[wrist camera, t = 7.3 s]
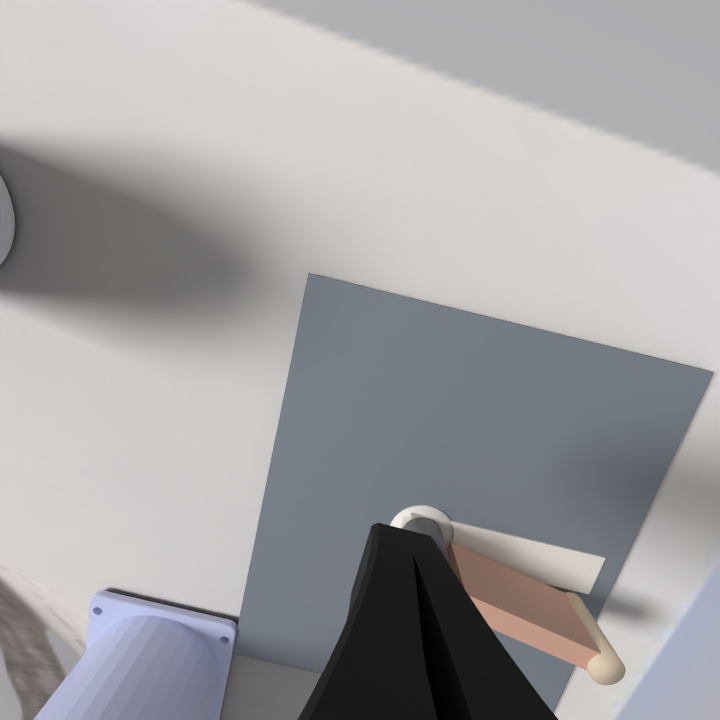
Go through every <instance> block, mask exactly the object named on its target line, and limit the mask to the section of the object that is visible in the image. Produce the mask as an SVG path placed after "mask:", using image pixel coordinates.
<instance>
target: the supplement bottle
mask: <svg viewBox="0 0 720 720" xmlns="http://www.w3.org/2000/svg"><path fill="white" fill-rule="evenodd" d="M14 232H15V216H14V211H13V207H12V202H11V198H10V195H9V192H8V190H7V187H6V185H5V183H4V181H3V179H2V177H1V175H0V265H1V264H2V262H3V261H4V260H5V258H6V257H7V255H8V253H9V251H10V248H11V245H12V242H13V238H14Z"/></svg>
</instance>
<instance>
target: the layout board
mask: <svg viewBox="0 0 720 720" xmlns="http://www.w3.org/2000/svg"><path fill="white" fill-rule="evenodd" d="M712 373H713V372H710V371H707V370H703V369H699V368H695V367H691V366H686V365H682V364H678V363H674V362H670V361H666V360H662V359H658V358H654V357H650V356H646V355H641V354H637V353H633V352H629V351H625V350H621V349H617V348H613V347H609V346H605V345H601V344H596V343H592V342H588V341H584V340H580V339H576V338H572V337H568V336H564V335H560V334H556V333H551V332H547V331H543V330H539V329H535V328H531V327H527V326H523V325H519V324H515V323H511V322H506V321H502V320H498V319H494V318H490V317H486V316H482V315H478V314H474V313H470V312H465V311H461V310H457V309H453V308H449V307H445V306H441V305H437V304H433V303H429V302H425V301H420V300H416V299H412V298H408V297H404V296H400V295H396V294H392V293H388V292H384V291H380V290H375V289H371V288H367V287H363V286H359V285H355V284H351V283H347V282H343V281H339V280H335V279H330V278H326V277H322V276H318V275H314V274H310V273H309V274H308V279H307V284H306V289H305V294H304V299H303V304H302V309H301V314H300V319H299V324H298V329H297V334H296V339H295V344H294V349H293V354H292V359H291V364H290V369H289V374H288V379H287V383H286V388H285V393H284V398H283V403H282V408H281V413H280V418H279V423H278V428H277V433H276V438H275V443H274V448H273V453H272V458H271V463H270V468H269V473H268V478H267V483H266V488H265V493H264V498H263V503H262V508H261V513H260V518H259V523H258V528H257V533H256V538H255V543H254V547H253V552H252V557H251V562H250V567H249V572H248V577H247V582H246V587H245V592H244V597H243V602H242V607H241V612H240V617H239V622H238V627H237V632H236V637H235V642H234V647H233V652H232V653H234V654H238V655H243V656H247V657H251V658H256V659H260V660H264V661H269V662H273V663H277V664H282V665H286V666H290V667H295V668H299V669H303V670H308V671H312V672H316V673H321V674H322V673H323V671H324V669H325V667H326V665H327V663H328V661H329V659H330V657H331V654H332V652H333V650H334V648H335V646H336V644H337V642H338V639H339V637H340V635H341V633H342V630H343V628H344V626H345V623H346V621H347V616H348V611H349V605H350V598H351V592H352V588H353V585H354V582H355V578H356V575H357V572H358V568H359V565H360V562H361V558H362V555H363V552H364V548H365V545H366V542H367V539H368V535H369V532H370V529H371V526H372V525H374V524H376V523H382V524H386V525H390V526H394V527H398V528H403V526H404V525H405V524H406V523H407V522H408V521H409V520H411V519H414V518H417V517H426V518H430V519H432V520H433V521H435V522H436V523H437V524H438V525H439V527H440V528H441V532H442V535H443V539H444V543H445V547H446V549H447V547H448V546H449V544H450V543H451V542H452V543H454V544H457V545H459V546H461V547H463V548H466V549H468V550H470V551H472V552H474V553H477V554H479V555H481V556H483V557H486V558H488V559H490V560H492V561H495V562H497V563H499V564H501V565H503V566H506V567H508V568H510V569H512V570H515V571H517V572H519V573H521V574H524V575H526V576H528V577H530V578H533V579H535V580H537V581H539V582H541V583H544V584H546V585H548V586H550V587H553V588H555V589H557V590H559V591H562V592H564V593H566V592H571V593H575V594H577V595H578V596H579V597H580V598H581V600H582V601H583V603H584V604H585V606H586V607H587V609H588V610H589V612H590V614H591V615H592V617H593V618H594V620H595V621H596V619H597V617H598V615H599V613H600V611H601V609H602V607H603V605H604V603H605V600H606V598H607V596H608V594H609V592H610V590H611V588H612V586H613V583H614V581H615V579H616V577H617V575H618V573H619V571H620V569H621V566H622V564H623V562H624V560H625V558H626V556H627V554H628V552H629V549H630V547H631V545H632V543H633V541H634V539H635V537H636V535H637V533H638V530H639V528H640V526H641V524H642V522H643V520H644V518H645V516H646V513H647V511H648V509H649V507H650V505H651V503H652V501H653V499H654V496H655V494H656V492H657V490H658V488H659V486H660V484H661V482H662V479H663V477H664V475H665V473H666V471H667V469H668V467H669V465H670V463H671V460H672V458H673V456H674V454H675V452H676V450H677V448H678V446H679V443H680V441H681V439H682V437H683V435H684V433H685V431H686V429H687V426H688V424H689V422H690V420H691V418H692V416H693V414H694V412H695V410H696V407H697V405H698V403H699V401H700V399H701V397H702V395H703V393H704V390H705V388H706V386H707V384H708V382H709V380H710V378H711V376H712ZM492 631H493V632H494V634H495V635H496V636H497V638H498V639H499V641H500V642H501V644H502V645H503V646H504V648H505V649H506V651H507V652H508V653H509V655H510V656H511V658H512V659H513V660H514V662H515V663H516V664H517V666H518V667H519V668H520V670H521V671H522V673H523V674H524V675H525V677H526V678H527V679H528V681H529V682H530V683H531V685H532V686H533V687H534V689H535V690H536V692H537V693H538V694H539V695H540V697H541V698H542V699H543V701H544V702H545V703H546V704H547V706H548V707H549V708H550V710H551V711H552V712H553V711H554V709H555V706H556V704H557V702H558V700H559V698H560V696H561V694H562V692H563V689H564V687H565V685H566V683H567V681H568V679H569V677H570V675H571V673H572V670H573V668H574V666H575V665H574V664H571V663H569V662H567V661H565V660H562V659H560V658H558V657H555V656H553V655H551V654H548V653H546V652H544V651H542V650H539V649H537V648H535V647H532V646H530V645H528V644H526V643H523V642H521V641H519V640H516V639H514V638H512V637H509V636H507V635H505V634H503V633H500V632H498V631H496V630H493V629H492Z"/></svg>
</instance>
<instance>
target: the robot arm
mask: <svg viewBox="0 0 720 720" xmlns="http://www.w3.org/2000/svg"><path fill="white" fill-rule="evenodd" d="M236 632H237V625H236V623H235V622H234V621H232V620H229V619H224V618H220V617H216V616H212V615H207V614H203V613H199V612H194V611H190V610H186V609H181V608H177V607H173V606H168V605H164V604H160V603H155V602H151V601H147V600H142V599H138V598H134V597H129V596H125V595H121V594H117V593H112V592H108V591H97V592H96V593H95V594H94V595H93V597H92V598H91V600H90V608H89V620H88V631H87V642H86V653H85V654H84V655H83V656H82V658H81V659H80V660H79V662H78V663H77V664H76V665H75V667H74V668H73V669H72V671H71V672H70V673H69V674H68V676H67V677H66V678H65V680H64V681H63V682H62V683H61V685H60V686H59V687H58V689H57V690H56V691H55V692H54V694H53V695H52V696H51V698H50V699H49V700H48V701H47V703H46V704H45V705H44V707H43V708H42V709H41V710H40V712H39V713H38V714H37V716H36V717H35V718H34V719H33V720H219V719H220V714H221V709H222V704H223V699H224V694H225V689H226V684H227V679H228V674H229V669H230V664H231V659H232V654H233V653H232V652H233V647H234V642H235V637H236ZM298 720H558V719H557V717H556V716H555V715H554V713H553V712H552V711H551V710H550V708H549V707H548V706H547V704H546V703H545V702H544V701H543V699H542V698H541V697H540V695H539V694H538V693H537V692H536V690H535V689H534V687H533V686H532V685H531V683H530V682H529V681H528V679H527V678H526V677H525V675H524V674H523V673H522V671H521V670H520V668H519V667H518V666H517V664H516V663H515V662H514V660H513V659H512V658H511V656H510V655H509V653H508V652H507V651H506V649H505V648H504V646H503V645H502V644H501V642H500V641H499V639H498V638H497V636H496V635H495V634H494V632H493V631H492V629H491V628H490V626H489V625H488V623H487V622H486V620H485V619H484V617H483V616H482V614H481V613H480V611H479V610H478V608H477V607H476V605H475V604H474V602H473V601H472V599H471V598H470V596H469V595H468V593H467V592H466V590H465V589H464V587H463V585H462V584H461V582H460V581H459V579H458V578H457V576H456V574H455V573H454V571H453V570H452V568H451V567H450V565H449V563H448V562H447V560H446V559H445V557H444V555H443V554H442V552H441V551H440V549H439V547H438V546H437V544H436V543H435V541H434V540H433V538H432V537H431V536H429V535H425V534H421V533H417V532H413V531H409V530H406V529H402V528H398V527H394V526H390V525H386V524H382V523H376V524H374V525H372V526H371V529H370V532H369V535H368V539H367V542H366V545H365V548H364V552H363V555H362V558H361V562H360V565H359V568H358V572H357V575H356V578H355V582H354V585H353V588H352V592H351V598H350V605H349V611H348V616H347V621H346V623H345V626H344V628H343V630H342V633H341V635H340V637H339V639H338V642H337V644H336V646H335V648H334V650H333V652H332V654H331V657H330V659H329V661H328V663H327V665H326V667H325V669H324V671H323V673H322V675H321V677H320V679H319V681H318V683H317V685H316V687H315V689H314V691H313V693H312V694H311V696H310V698H309V700H308V702H307V704H306V706H305V707H304V709H303V711H302V713H301V715H300V717H299V718H298Z"/></svg>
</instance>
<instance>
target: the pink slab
mask: <svg viewBox="0 0 720 720" xmlns="http://www.w3.org/2000/svg"><path fill="white" fill-rule="evenodd" d="M446 550H447V554H448V558H449V562H450V565H451V568H452V570H453V571H454V573H455V574H456V576H457V578H458V579H459V581H460V582H461V584H462V585H463V587H464V589H465V590H466V592H467V593H468V595H469V596H470V598H471V599H472V601H473V602H474V604H475V605H476V607H477V608H478V610H479V611H480V613H481V614H482V616H483V617H484V619H485V620H486V622H487V623H488V625H489V626H490V628H491V629H493V630H496V631H498V632H500V633H503V634H505V635H507V636H509V637H512V638H514V639H516V640H519V641H521V642H523V643H526V644H528V645H530V646H532V647H535V648H537V649H539V650H542V651H544V652H546V653H548V654H551V655H553V656H555V657H558V658H560V659H562V660H565V661H567V662H569V663H571V664H574V665H576V666H578V667H581V668H583V669H585V670H587V671H588V672H589V674H590V676H591V678H592V679H593V680H594V681H595V682H596V683H598V684H601V685H611V684H615V683H617V682H618V681H620V680H621V679H622V678H623V677H624V675H625V666H624V664H623V663H622V661H621V660H620V658H619V657H618V655H617V654H616V652H615V651H614V649H613V648H612V646H611V644H610V643H609V641H608V640H607V638H606V637H605V635H604V634H603V632H602V631H601V629H600V627H599V626H598V624H597V623H596V621H595V620H594V618H593V617H592V615H591V614H590V612H589V610H588V609H587V607H586V606H585V604H584V603H583V601H582V600H581V598H580V597H579V596H578V595H577V594H575V593H571V592H566V593H564V592H562V591H559V590H557V589H555V588H553V587H550V586H548V585H546V584H544V583H541V582H539V581H537V580H535V579H533V578H530V577H528V576H526V575H524V574H521V573H519V572H517V571H515V570H512V569H510V568H508V567H506V566H503V565H501V564H499V563H497V562H495V561H492V560H490V559H488V558H486V557H483V556H481V555H479V554H477V553H474V552H472V551H470V550H468V549H466V548H463V547H461V546H459V545H457V544H454V543H452V542H451V543H450V544H449V546H448V547H447V549H446Z"/></svg>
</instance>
